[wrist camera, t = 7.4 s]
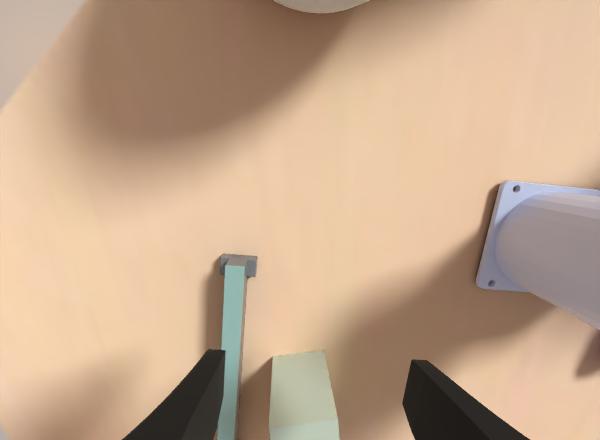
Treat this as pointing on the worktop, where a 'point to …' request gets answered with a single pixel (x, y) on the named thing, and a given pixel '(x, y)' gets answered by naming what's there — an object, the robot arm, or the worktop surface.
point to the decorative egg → (320, 5)
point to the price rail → (233, 337)
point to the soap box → (302, 398)
